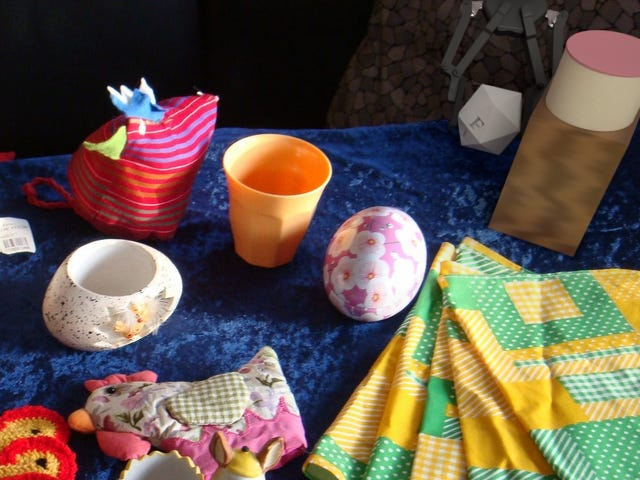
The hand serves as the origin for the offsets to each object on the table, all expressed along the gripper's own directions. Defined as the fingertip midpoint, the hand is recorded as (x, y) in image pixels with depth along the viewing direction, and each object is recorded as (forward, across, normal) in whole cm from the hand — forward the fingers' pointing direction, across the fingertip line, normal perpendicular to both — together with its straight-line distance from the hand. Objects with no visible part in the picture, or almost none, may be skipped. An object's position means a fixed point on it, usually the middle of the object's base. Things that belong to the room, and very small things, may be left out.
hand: (485, 132), depth 114 cm
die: (+1, 0, -5) cm, 5 cm away
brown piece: (+11, -9, +1) cm, 14 cm away
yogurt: (-1, -9, +13) cm, 16 cm away
